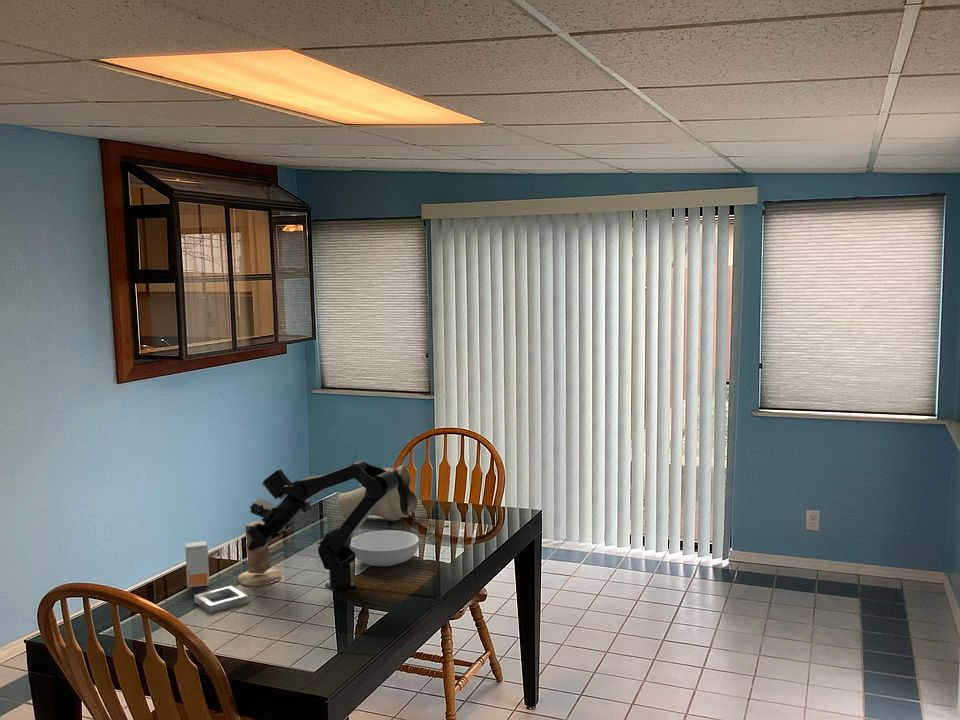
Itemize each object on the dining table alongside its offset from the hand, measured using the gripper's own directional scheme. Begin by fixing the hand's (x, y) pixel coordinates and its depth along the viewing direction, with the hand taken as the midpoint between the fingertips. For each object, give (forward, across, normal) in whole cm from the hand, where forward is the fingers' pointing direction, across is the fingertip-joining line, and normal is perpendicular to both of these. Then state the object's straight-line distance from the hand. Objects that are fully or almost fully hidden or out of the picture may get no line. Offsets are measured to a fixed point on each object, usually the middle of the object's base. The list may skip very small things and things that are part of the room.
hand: (253, 546), depth 258 cm
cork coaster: (+6, 0, +8) cm, 10 cm away
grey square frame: (+7, +19, +6) cm, 21 cm away
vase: (-4, -63, +17) cm, 65 cm away
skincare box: (+17, +7, -3) cm, 19 cm away
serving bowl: (-16, -20, +30) cm, 40 cm away
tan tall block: (+4, 0, +6) cm, 7 cm away
